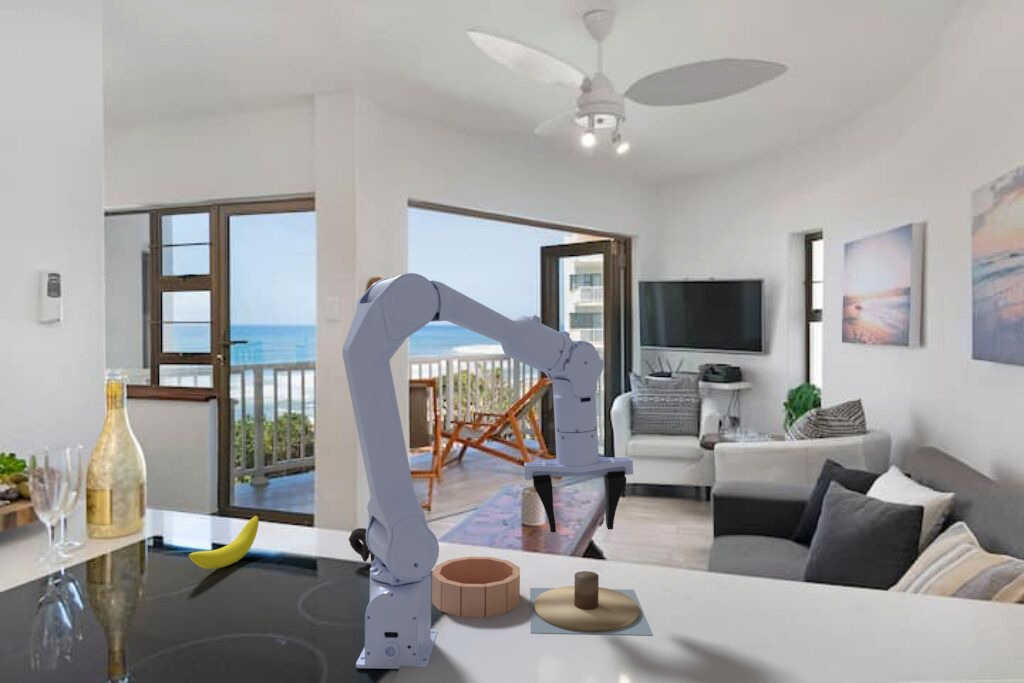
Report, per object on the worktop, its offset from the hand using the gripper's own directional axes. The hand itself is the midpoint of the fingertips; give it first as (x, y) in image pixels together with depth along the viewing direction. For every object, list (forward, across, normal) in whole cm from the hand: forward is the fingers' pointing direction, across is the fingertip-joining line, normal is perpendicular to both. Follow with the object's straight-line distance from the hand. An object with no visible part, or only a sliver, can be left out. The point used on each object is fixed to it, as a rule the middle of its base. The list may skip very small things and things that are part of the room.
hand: (581, 528), depth 92 cm
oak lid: (+10, 0, +2) cm, 11 cm away
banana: (+8, +56, -15) cm, 58 cm away
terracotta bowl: (+10, +15, -2) cm, 18 cm away
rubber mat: (+11, 0, +2) cm, 11 cm away
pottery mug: (+10, +31, -16) cm, 36 cm away
